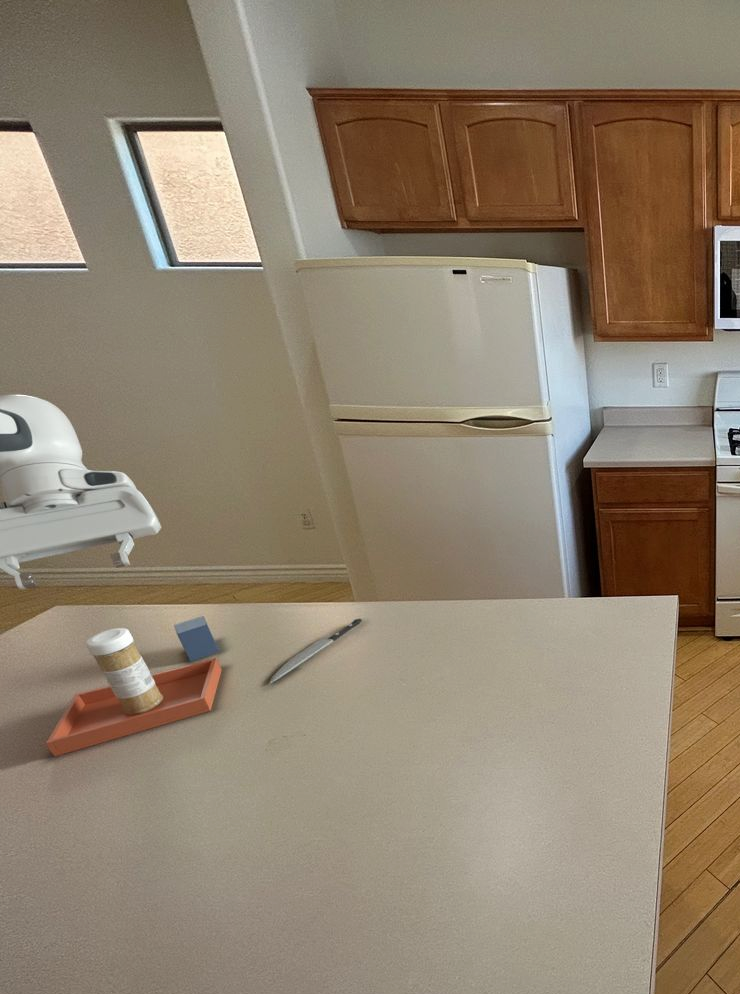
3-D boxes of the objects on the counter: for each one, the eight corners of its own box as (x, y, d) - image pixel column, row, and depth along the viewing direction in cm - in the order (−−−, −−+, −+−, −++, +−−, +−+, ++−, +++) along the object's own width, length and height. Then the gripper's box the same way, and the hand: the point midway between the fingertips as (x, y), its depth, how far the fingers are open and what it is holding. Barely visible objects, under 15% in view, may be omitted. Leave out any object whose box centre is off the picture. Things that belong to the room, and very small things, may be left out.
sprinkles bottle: (139, 697, 89) (101, 628, 83) (171, 694, 89) (136, 625, 84) (116, 717, 85) (74, 646, 79) (150, 714, 85) (111, 643, 80)
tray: (54, 756, 79) (45, 743, 77) (82, 706, 87) (74, 694, 86) (210, 710, 87) (204, 698, 86) (222, 669, 96) (216, 657, 95)
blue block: (190, 661, 98) (176, 634, 95) (187, 652, 100) (173, 624, 98) (219, 651, 100) (207, 624, 98) (215, 642, 103) (203, 615, 100)
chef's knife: (256, 683, 93) (269, 685, 92) (253, 677, 93) (266, 680, 92) (352, 620, 110) (364, 622, 109) (350, 615, 109) (362, 617, 108)
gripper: (-74, 502, 74) (-50, 593, 71) (138, 470, 87) (164, 546, 84) (-48, 522, 79) (-24, 608, 76) (150, 489, 91) (175, 561, 89)
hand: (76, 575), depth 80 cm, fingers open, 8 cm apart
